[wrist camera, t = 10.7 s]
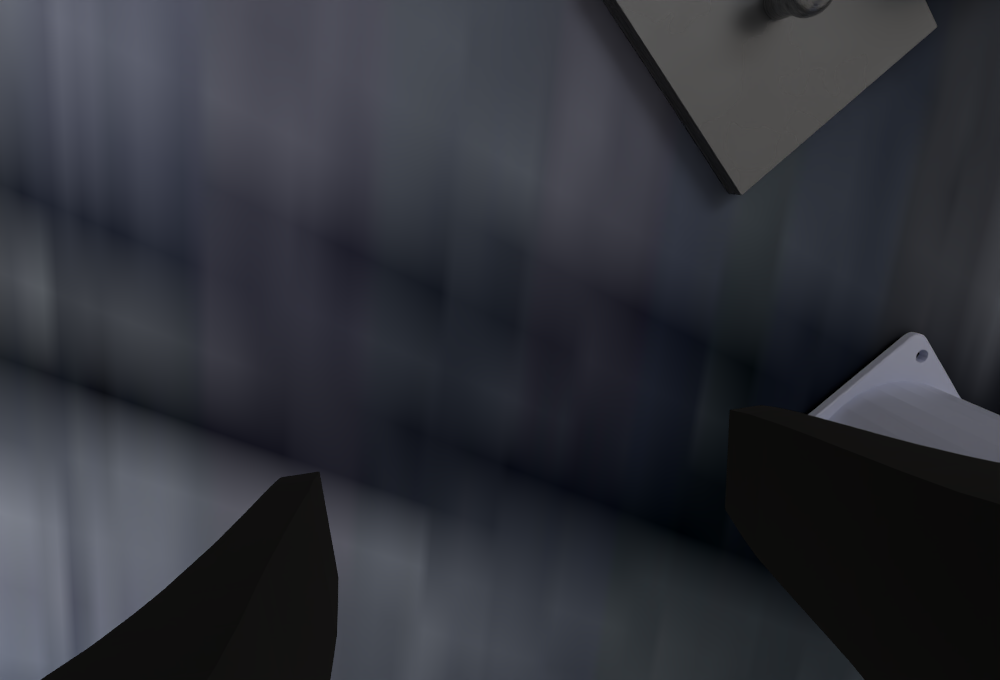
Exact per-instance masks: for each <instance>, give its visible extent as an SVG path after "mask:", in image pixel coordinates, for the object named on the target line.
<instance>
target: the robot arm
mask: <svg viewBox="0 0 1000 680" xmlns="http://www.w3.org/2000/svg"><path fill="white" fill-rule="evenodd" d="M919 351H920V352H919ZM918 352H919V355H918V357H917V358H916V355H917V353H918ZM725 510H726V511H727V513H728V514H729V516H730V518H731V519H732V521H733V522H734V524H735V526H736V527H737V529H738V530H739V532H740V533H741V535H742V536H743V538H744V539H745V541H746V542H747V544H748V545H749V546H750V548H751V549H752V551H753V552H754V554H755V555H756V556H757V557H758V559H759V560H760V561H761V562H762V563H763V564H764V566H765V567H766V568H767V569H768V570H769V571H770V573H771V574H772V575H773V576H774V577H775V578H776V579H777V581H778V582H779V583H780V584H781V585H782V586H783V587H784V588H785V590H786V591H787V592H788V593H789V594H790V595H791V596H792V597H793V599H794V600H795V601H796V602H797V603H798V604H799V605H800V606H801V607H802V609H803V610H804V611H805V612H806V613H807V614H808V615H809V616H810V618H811V619H812V620H813V621H814V622H815V623H816V624H817V625H818V626H819V628H820V629H821V630H822V631H823V632H824V633H825V634H826V635H827V636H828V638H829V639H830V640H831V641H832V642H833V643H834V644H835V645H836V647H837V648H838V649H839V650H840V651H841V652H842V653H843V654H844V655H845V657H846V658H847V659H848V660H849V661H850V662H851V664H852V665H853V666H854V667H855V668H856V670H857V671H858V672H859V673H860V674H861V676H862V677H863V678H864V679H865V680H1000V415H998V414H996V413H993V412H991V411H988V410H986V409H984V408H981V407H979V406H977V405H974V404H972V403H970V402H967V401H965V400H963V399H961V398H960V396H959V394H958V393H957V391H956V389H955V387H954V386H953V384H952V382H951V380H950V379H949V377H948V375H947V373H946V372H945V370H944V368H943V367H942V365H941V363H940V361H939V360H938V358H937V356H936V354H935V353H934V351H933V349H932V347H931V346H930V344H929V342H928V340H927V339H926V337H925V336H924V335H922V334H919V333H916V332H908V333H907V334H905V335H903V336H902V337H901V338H900V339H899V340H897V341H896V342H895V343H894V344H893V345H891V346H890V347H889V348H888V349H887V350H885V351H884V352H883V353H882V354H880V355H879V356H878V357H877V358H876V359H874V360H873V361H872V362H871V363H870V364H868V365H867V366H866V367H865V368H864V369H862V370H861V371H860V372H859V373H858V374H856V375H855V376H854V377H853V378H852V379H850V380H849V381H848V382H847V383H846V384H844V385H843V386H842V387H841V388H840V389H838V390H837V391H836V392H835V393H833V394H832V395H831V396H830V397H829V398H827V399H826V400H825V401H824V402H823V403H821V404H820V405H819V406H818V407H817V408H815V409H814V410H813V411H812V412H811V413H809V414H808V415H807V414H803V413H799V412H795V411H791V410H786V409H782V408H776V407H770V406H763V405H760V406H753V407H747V408H740V409H733V410H730V416H729V437H728V459H727V480H726V501H725ZM337 615H338V573H337V568H336V562H335V556H334V551H333V545H332V540H331V534H330V528H329V523H328V517H327V512H326V506H325V500H324V495H323V489H322V484H321V478H320V473H319V472H314V473H307V474H301V475H294V476H287V477H281V478H280V479H278V480H277V481H276V482H275V483H274V484H273V485H272V486H271V487H270V488H269V489H268V490H267V491H266V492H265V493H264V494H263V495H262V496H261V497H260V498H259V499H258V500H257V501H256V502H255V503H254V504H253V505H252V506H251V507H250V508H249V509H248V511H247V512H246V513H245V514H244V515H243V516H242V517H241V518H240V519H239V520H238V521H237V522H236V523H235V524H234V525H233V526H232V527H231V528H230V529H229V530H228V531H227V532H226V533H225V534H224V535H223V536H222V537H221V538H220V539H219V540H218V541H217V542H216V543H215V544H214V545H213V546H211V547H210V548H209V549H208V550H207V551H206V552H205V553H204V554H203V555H202V556H200V557H199V558H198V559H197V560H196V561H195V562H194V563H193V564H192V565H190V566H189V567H188V568H187V569H186V570H185V571H184V572H183V573H182V574H181V575H179V576H178V577H177V578H176V579H175V580H174V581H173V582H172V583H171V584H169V585H168V586H167V587H166V588H165V589H164V590H163V591H161V592H160V593H159V594H158V595H157V596H155V597H154V598H153V599H152V600H151V601H149V602H148V603H147V604H146V605H144V606H143V607H142V608H141V609H139V610H138V611H137V612H136V613H134V614H133V615H132V616H131V617H129V618H128V619H127V620H125V621H124V622H123V623H121V624H120V625H119V626H117V627H116V628H115V629H113V630H112V631H111V632H109V633H108V634H107V635H105V636H104V637H103V638H101V639H100V640H99V641H97V642H96V643H95V644H93V645H92V646H90V647H89V648H88V649H86V650H85V651H83V652H82V653H80V654H79V655H77V656H76V657H74V658H73V659H71V660H70V661H68V662H67V663H65V664H64V665H62V666H61V667H59V668H58V669H56V670H55V671H53V672H52V673H50V674H49V675H47V676H46V677H44V678H43V679H41V680H330V678H331V671H332V665H333V658H334V651H335V644H336V637H337Z"/></svg>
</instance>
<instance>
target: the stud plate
mask: <svg viewBox="0 0 1000 680" xmlns="http://www.w3.org/2000/svg"><path fill="white" fill-rule="evenodd" d="M603 2H604V3H605V5H606V6H607V8H608V9H609V11H610V12H611V14H612V15H613V17H614V18H615V20H616V22H617V23H618V25H619V26H620V28H621V29H622V31H623V32H624V34H625V35H626V37H627V38H628V40H629V42H630V43H631V45H632V46H633V48H634V49H635V51H636V52H637V54H638V55H639V57H640V58H641V60H642V61H643V63H644V65H645V66H646V68H647V69H648V71H649V72H650V74H651V75H652V77H653V78H654V80H655V81H656V83H657V84H658V86H659V88H660V89H661V91H662V92H663V94H664V95H665V97H666V98H667V100H668V101H669V103H670V104H671V106H672V107H673V109H674V111H675V112H676V114H677V115H678V117H679V118H680V120H681V121H682V123H683V124H684V126H685V127H686V129H687V131H688V132H689V134H690V135H691V137H692V138H693V140H694V141H695V143H696V144H697V146H698V147H699V149H700V150H701V152H702V154H703V155H704V157H705V158H706V160H707V161H708V163H709V164H710V166H711V167H712V169H713V170H714V172H715V173H716V175H717V177H718V178H719V180H720V181H721V183H722V184H723V186H724V187H725V189H726V190H727V192H728V193H729V194H736V195H742V194H744V193H745V192H746V191H747V190H748V189H749V188H751V187H752V186H753V185H754V184H755V183H756V182H758V181H759V180H760V179H761V178H762V177H763V176H764V175H766V174H767V173H768V172H769V171H770V170H771V169H773V168H774V167H775V166H776V165H777V164H778V163H780V162H781V161H782V160H783V159H784V158H785V157H787V156H788V155H789V154H790V153H791V152H792V151H794V150H795V149H796V148H797V147H798V146H799V145H801V144H802V143H803V142H804V141H805V140H806V139H808V138H809V137H810V136H811V135H812V134H813V133H814V132H816V131H817V130H818V129H819V128H820V127H821V126H823V125H824V124H825V123H826V122H827V121H828V120H830V119H831V118H832V117H833V116H834V115H835V114H837V113H838V112H839V111H840V110H841V109H842V108H844V107H845V106H846V105H847V104H848V103H849V102H851V101H852V100H853V99H854V98H855V97H856V96H857V95H859V94H860V93H861V92H862V91H863V90H864V89H866V88H867V87H868V86H869V85H870V84H871V83H873V82H874V81H875V80H876V79H877V78H878V77H880V76H881V75H882V74H883V73H884V72H885V71H887V70H888V69H889V68H890V67H891V66H892V65H894V64H895V63H896V62H897V61H898V60H899V59H900V58H902V57H903V56H904V55H905V54H906V53H907V52H909V51H910V50H911V49H912V48H913V47H914V46H916V45H917V44H918V43H919V42H920V41H921V40H923V39H924V38H925V37H926V36H927V35H928V34H930V33H931V32H932V31H933V30H934V29H935V28H937V25H936V23H935V20H934V18H933V16H932V14H931V12H930V9H929V7H928V5H927V3H926V1H925V0H603Z"/></svg>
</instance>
